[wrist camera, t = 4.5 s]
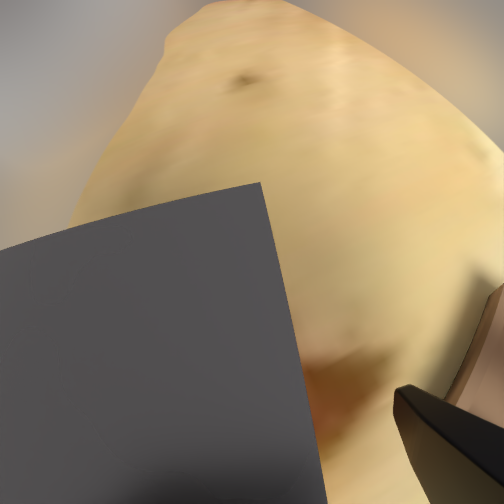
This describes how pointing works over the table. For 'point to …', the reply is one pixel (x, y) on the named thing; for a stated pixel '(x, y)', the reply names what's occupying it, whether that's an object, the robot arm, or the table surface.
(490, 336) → the tray
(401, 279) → the table surface
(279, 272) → the brushed steel post
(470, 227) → the table surface
